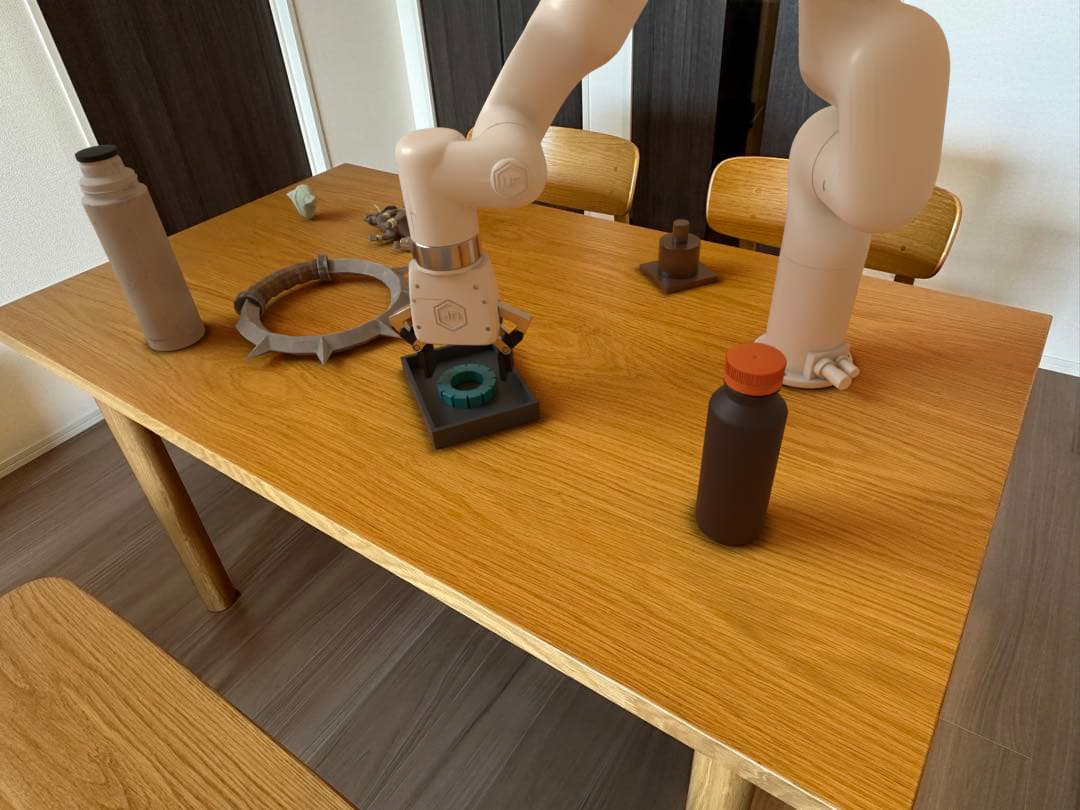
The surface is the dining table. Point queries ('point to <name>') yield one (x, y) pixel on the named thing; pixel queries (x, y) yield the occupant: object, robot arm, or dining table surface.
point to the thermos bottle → (138, 249)
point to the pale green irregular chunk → (304, 200)
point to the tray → (466, 423)
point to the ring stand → (678, 261)
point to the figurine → (389, 223)
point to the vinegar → (742, 445)
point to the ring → (472, 396)
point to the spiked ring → (261, 292)
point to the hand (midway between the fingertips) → (468, 373)
